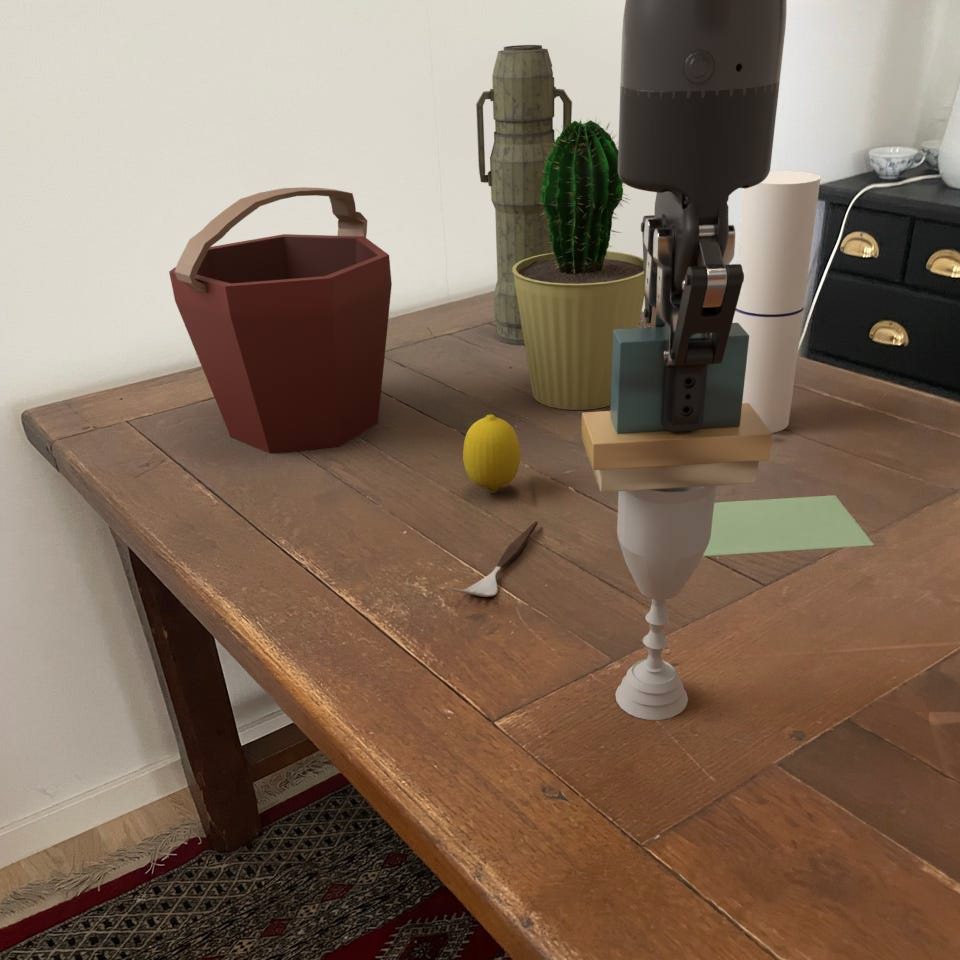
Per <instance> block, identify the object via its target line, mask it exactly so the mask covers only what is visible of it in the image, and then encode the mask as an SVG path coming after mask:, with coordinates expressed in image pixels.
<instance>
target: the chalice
mask: <svg viewBox="0 0 960 960" xmlns="http://www.w3.org/2000/svg"><path fill="white" fill-rule="evenodd" d="M716 491H717V486H701V487H683V488H666V489H649V490H632V491H618V499H617V501H618V502H617V521H616V522H617V523H616V525H617V526H616V534H617V540H618V543H619V546H620V549H621V552H622V557H623V558H624V561H625V564H626V566H627V568H628V571H629V572H630V574H631V577H632V578H633V580H634V582H635V584H636V587H637V589H638V591H639V592H640V593H641V595H643V596H645V597H646V598H649V599H651V606H650V608H649V611H648V612H647V613H646V615H645V620H646V623H648V626H649V631H648V634H645V635H644V637H643V638H642V643H643V645H644V646H645V647H647V654H648V655H647V657H646V658H645V659H641V660H639V661H637V662H635V663H634V664H633V665H631V666H630V667H629V668H628V669H627V671H626V674H625V675H624V677H623V678H622V681H621V683H620V684H619V685H618V686H617V689H616V691H615V700H616V701H615V702H616V703H617V704H618V706H619V707H620V709H622V711H624V712H625V713H627V714H628V715H630V716H633V717H635V718H637V719H642V720H648V721H663V720H667V719H671V718H674V717H675V716H678V715H679V714H681V713H682V712H683V711H684V710H685V709H686V708H687V705H688V701H689V698H688V694H687V693H688V692H687V691H686V690H685V688H684V683H683V681H682V679H681V677H680V673H679V672H678V671H677V669H676V668H675V667H674V666H673V665H672V664H671V663H669V662H668V661H666V660H662V652H663V651H664V650H663V649H664V648H666V647H667V646H668V645H669V639H668V637H667V636H666V635H665V634H664V628H665V626H666V625H667V623H668V622H669V621H670V616H669V614H668V613H667V611H666V601H667V600H671V599H673V598H675V597H677V596H678V595H679V594H680V593H681V592H682V590H683V589H684V587H685V586H686V584H687V583H688V581H689V580H690V578H691V577H692V575H693V574H694V572H695V571H696V570H697V568H698V567H699V564H700V563H701V560H702V558H703V557H704V556H703V554H704V552H705V550H706V548H707V546H708V544H709V541H710V537H711V529H712V519H713V510H714V503H715V499H716Z"/></svg>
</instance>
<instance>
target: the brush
mask: <svg viewBox="0 0 960 960" xmlns="http://www.w3.org/2000/svg"><path fill="white" fill-rule="evenodd" d="M664 339H665V327H651V326H650V327H639V328H631V329H614V330H613V350H612V381H611V405H610V410H602V411H601V410H600V411H587V412H585V411H583V412H582V413H581V440H582V443H583V445H584V448H585V452H586V454H587V458H588V460H589V463H590V466H591V470H592V471H593V474H594V477H595V480H596V484H597V486H598V489H599V492H600V493H610V492H611V493H612V492H613V493H614V492H619V491H632V490H649V489H666V488H683V487H701V486H716V487H717V486H731V485H732V486H733V485H735V486H736V485H749V484H756V483H757V480H758V472H759V463H760V462H759V461H761V462H762V461H769V460H770V455H771V454H770V453H771V447H772V440H773V439H772V438H773V433H771V432H770V430H769V429H768V428H767V426H766V425H765V424H764V422H763V421H762V420H761V418H760V417H759V416H758V414H757V413H756V412H755V410H754V409H753V408H752V406H751V405H750V404H749V403H742V401H743V391H744V382H745V372H746V363H747V354H748V344H749V335H748V334H747V332H746V331H745V330H744V329H743V328H742V327H741V326H740V324H739V323H732V325H731V329H730V333H729V337H728V341H727V344H726V348H725V352H724V356H723V360H722V362H721V363H720V364H711V365H708V367H707V379H706V391H705V402H704V414H703V424H702V426H701V427H700V428H699V429H698V430H695V431H681V432H668V431H666V430H665V428H664V427H663V425H662V423H661V414H662V398H663V382H664V365H665V363H664V360H663V351H664ZM699 340H701V334H694V335H692V336H691V337H690V339H689V341H699Z"/></svg>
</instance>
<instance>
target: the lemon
mask: <svg viewBox="0 0 960 960" xmlns="http://www.w3.org/2000/svg"><path fill="white" fill-rule="evenodd" d="M520 447H521V446H520V441H519V439H518V436H517V433H516V431H515V429H514V427H513V426H512V425H511V424H510V423H508V421H506V420H505V419H502V418H500V417H496V416H495V415H494V414H487V415H485V417H482V418H480V419H478V420H477V421H475V422H474V423H473V424H472V425H471V426H470V427H469V429H468V431H467V432H466V434H465V437H464V442H463V450H462V457H463V458H462V461H463V465H464V469H465V472H466V474H467V476H468V477H469V479H470V480H471V481H472V482H473V483H474V484H475V485H477V486H478V487H480V488H482V489H486V490H487V491H488V492H490V493H492V494H494V493H496V492H497V491H499V489H501V488H503V487H506V486H507V485H509V484H510V483H511V482H512V481H513V480H514V478H516V476H517V473H518V471H519V468H520V463H521V448H520Z"/></svg>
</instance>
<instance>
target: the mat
mask: <svg viewBox="0 0 960 960" xmlns="http://www.w3.org/2000/svg"><path fill="white" fill-rule="evenodd" d="M874 546H875V543H874V542H873V541H872V540H871V539H870V537H869V536H868V535H867V533H866V532H865V531H864V529H863V528H862V527H861V526H860V525H859V523H858V522H857V521H856V520H855V518H854V517H853V516H852V515H851V513H850V511H848V509H847V508H846V507H845V506H844V504H842V502H841V501H840V499H839V498H838V497H837V495H835V494H833V495H832V494H831V495H818V496H800V497H784V498H767V499H753V500H737V501H721V502H714V510H713V519H712V529H711V537H710V541H709V544H708V546H707V548H706V550H705V552H704V554H703V556H702V557H715V556H728V555H729V556H733V555H747V554H763V553H764V554H765V553H779V552H795V551H796V552H797V551H809V550H810V551H811V550H826V549H842V548H857V547H859V548H860V547H874Z"/></svg>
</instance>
